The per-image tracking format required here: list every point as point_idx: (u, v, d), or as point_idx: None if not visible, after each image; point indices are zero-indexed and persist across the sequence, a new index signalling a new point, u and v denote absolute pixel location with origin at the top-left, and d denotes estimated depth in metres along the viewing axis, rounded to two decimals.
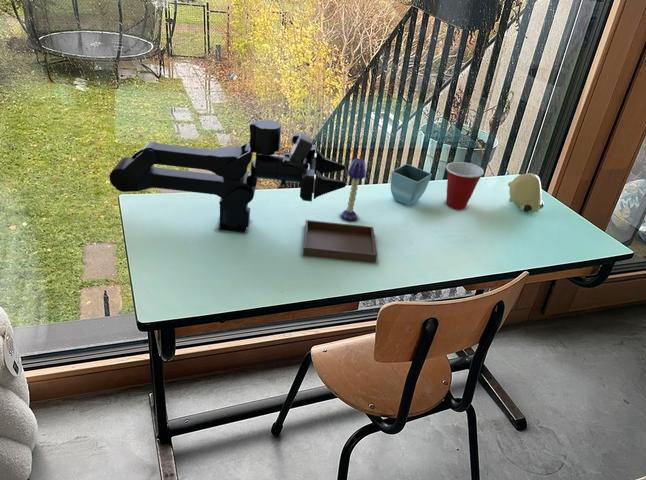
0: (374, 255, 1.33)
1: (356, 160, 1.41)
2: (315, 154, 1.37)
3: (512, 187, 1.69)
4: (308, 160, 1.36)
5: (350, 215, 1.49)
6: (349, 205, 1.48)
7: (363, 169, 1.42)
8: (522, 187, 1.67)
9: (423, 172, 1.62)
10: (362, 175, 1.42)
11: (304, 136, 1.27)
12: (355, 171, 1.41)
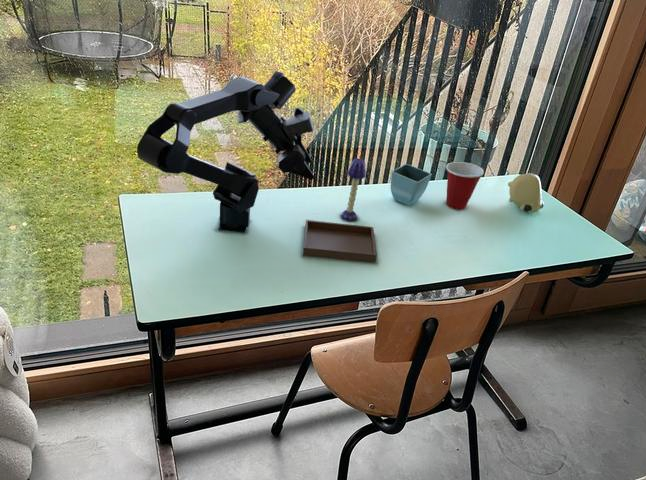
0: (374, 255, 1.33)
1: (356, 160, 1.41)
2: None
3: (512, 187, 1.69)
4: None
5: (350, 215, 1.49)
6: (349, 205, 1.48)
7: (363, 169, 1.42)
8: (522, 187, 1.67)
9: (423, 172, 1.62)
10: (362, 175, 1.42)
11: (310, 117, 1.32)
12: (355, 171, 1.41)
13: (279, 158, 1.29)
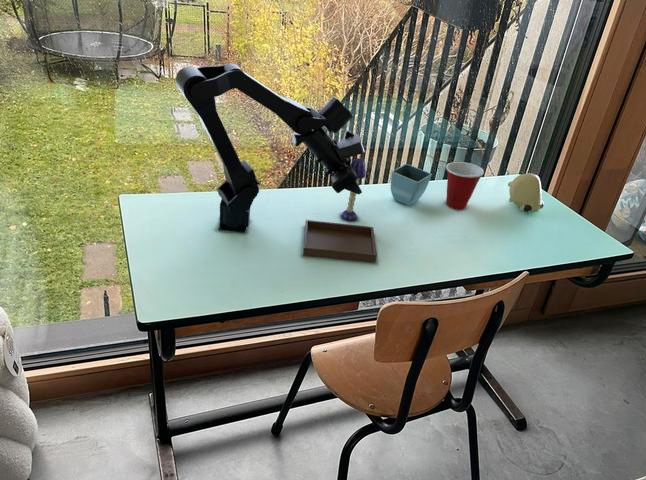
0: (374, 255, 1.33)
1: (356, 160, 1.41)
2: None
3: (512, 187, 1.69)
4: None
5: (350, 215, 1.49)
6: (349, 205, 1.48)
7: (363, 169, 1.42)
8: (522, 187, 1.67)
9: (423, 172, 1.62)
10: (362, 175, 1.42)
11: None
12: (355, 171, 1.41)
13: (333, 179, 1.36)
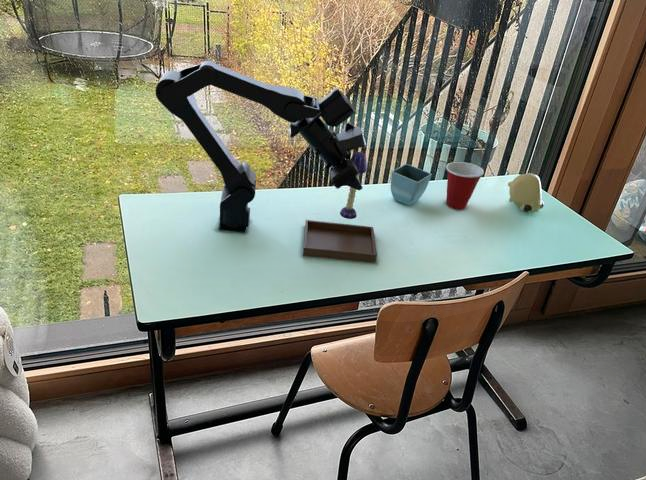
0: (374, 255, 1.33)
1: (357, 153, 1.33)
2: None
3: (512, 187, 1.69)
4: None
5: (350, 212, 1.40)
6: (349, 202, 1.40)
7: (364, 163, 1.33)
8: (522, 187, 1.67)
9: (423, 172, 1.62)
10: (363, 170, 1.33)
11: None
12: (356, 165, 1.33)
13: (332, 173, 1.27)
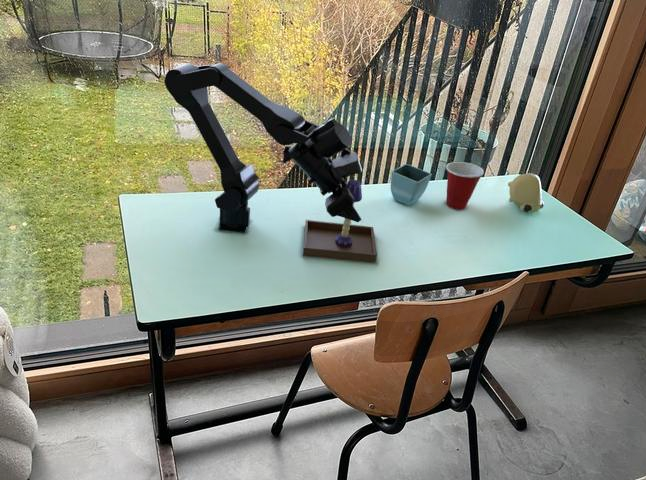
0: (374, 255, 1.33)
1: (351, 182, 1.29)
2: None
3: (512, 187, 1.69)
4: None
5: (345, 240, 1.37)
6: (344, 230, 1.36)
7: (359, 192, 1.30)
8: (522, 187, 1.67)
9: (423, 172, 1.62)
10: (358, 198, 1.30)
11: None
12: None
13: (327, 201, 1.23)
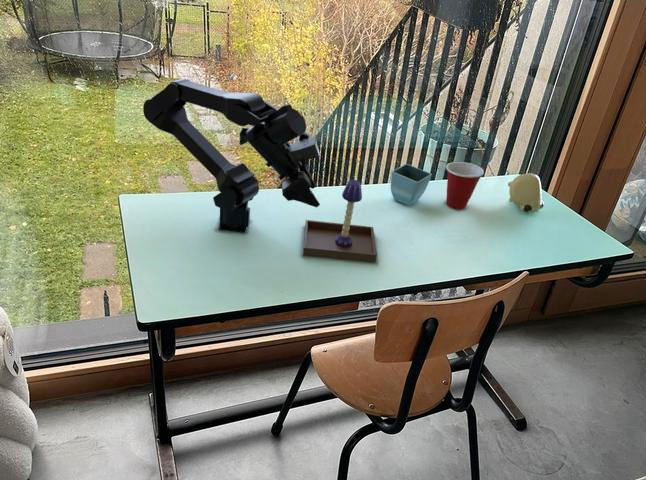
0: (374, 255, 1.33)
1: (351, 182, 1.29)
2: None
3: (512, 187, 1.69)
4: None
5: (345, 240, 1.37)
6: (344, 230, 1.36)
7: (359, 192, 1.30)
8: (522, 187, 1.67)
9: (423, 172, 1.62)
10: (358, 198, 1.30)
11: None
12: (350, 194, 1.29)
13: (283, 185, 1.23)
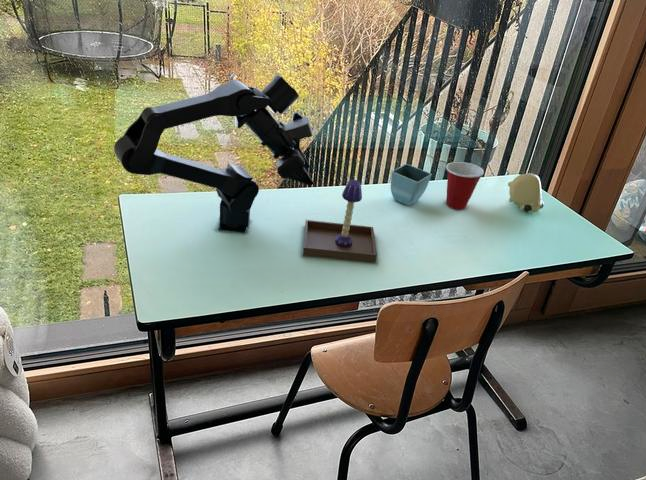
0: (374, 255, 1.33)
1: (351, 182, 1.29)
2: None
3: (512, 187, 1.69)
4: None
5: (345, 240, 1.37)
6: (344, 230, 1.36)
7: (359, 192, 1.30)
8: (522, 187, 1.67)
9: (423, 172, 1.62)
10: (358, 198, 1.30)
11: (309, 122, 1.30)
12: (350, 194, 1.29)
13: (278, 163, 1.26)
